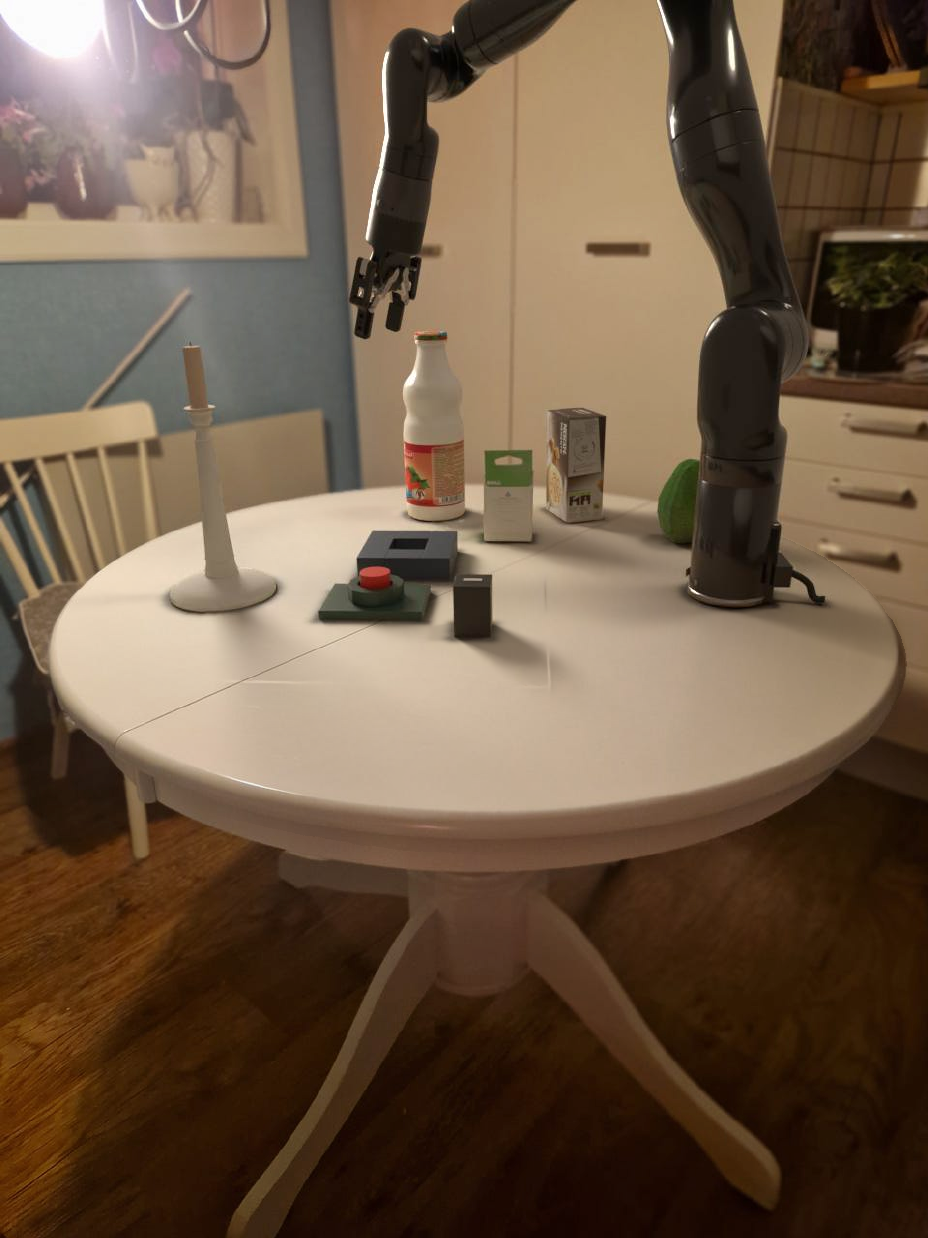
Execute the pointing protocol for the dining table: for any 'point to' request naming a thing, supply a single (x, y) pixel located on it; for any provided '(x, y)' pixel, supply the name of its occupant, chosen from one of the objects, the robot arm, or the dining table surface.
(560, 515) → the coffee box
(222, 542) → the candlestick
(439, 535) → the square socket block
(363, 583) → the power button
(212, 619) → the dining table surface
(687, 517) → the avocado
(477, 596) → the block
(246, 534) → the dining table surface
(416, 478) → the fruit juice
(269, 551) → the dining table surface
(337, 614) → the red push button plate
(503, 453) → the ink box
